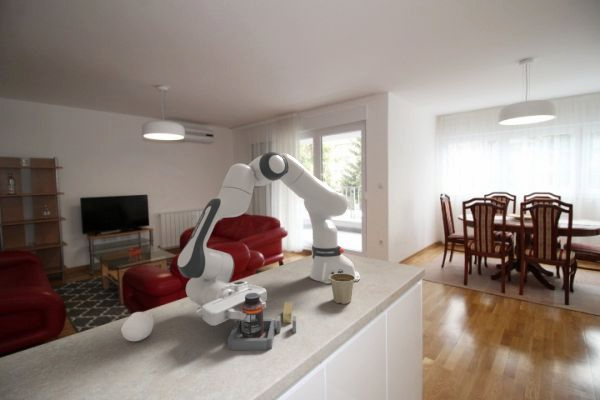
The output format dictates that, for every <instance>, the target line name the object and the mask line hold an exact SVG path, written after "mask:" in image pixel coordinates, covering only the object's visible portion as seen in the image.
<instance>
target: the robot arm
mask: <svg viewBox="0 0 600 400" xmlns="http://www.w3.org/2000/svg"><path fill="white" fill-rule="evenodd" d="M278 180H279V181H280V182H282V183H283V184H284V185H285V186H286V187H288V188H289V190H291V191H292V192H293V193H294V194H296V196H298V197H299V198H300V199H302V200H303V205H304V208H305V210H306V211H307V213H308V216H309V219H310V224H311V228H312V229H311V231H312V245H311V257H312V264H311V271H310V274H309V278H310V279H312V280H314V281H317V282H321V283H323V284H325V285H326V284H327V285H328V284H331V282H330V279H329V276H330V275H332V274H336V273H346V274H351V275H353V276H355V280H354V282H359V281H360V280H361V275H360V273H359V272H358V271H357V270H356V269H355V265H354V263H353V262H352V260H351V259H349V258H348V256H345V255H344V253H345V250H344V248H343V247H341V246H340V245H338V228H337V226H336V225H335V223H334V221H333V217H335V218H336V217H339V216H343V215H344V214H345V213H346V212H347V210H348V206H349V205H348V203H349V202H348V198H347V197H346V196H345V195H344V194H343V193H340V192H338V191H337V190H335V189H333V188H332V187H330V186H329V185H327V184H326V183H324V182H323V181H322V180H320V179H318V178H317V177H316V176H315V175H314V174H313V173H312V172H310V170H308V169H307V168H306V167H305V165H303V164H302V163H301V162H300V161H299V160H298V159H296V158H295V157H293V156H292V155H290V154H289V153H287V152H283V153H282V152H281V153H278V152H274V151H272V152H271V151H270V152H265V153H264V154H262V155H260V156H258V157H256V158H254V159H253V160H252V161H251V162H249V163H247V164H245V163H235V164H233V165H231V166H230V168H229V169H228V172H227V174H226V176H225V177H224V179H223V182H222V185H221V188H220V191H219V194H218V195H217V196H216V197H215V198H213V199H211V200H210V201H208V202H207V204H206V205H205V207H204V209H203V211H202V213H201V214H200V217H199V218H198V220H197V222H196V224H195V226H194V229H193V231H192V233H191V235H190V237H189V239H188V241H187V242H186V244H185V245H184V247H182V249H181V250H180V253H179V254H178V257H177V261H176V265H177V268H178V270H179V273H180V274H181V275H182V276H183V277H184V278H187V279H188V278H189V280H188V281H187V283H186V285H185V286H186V287H185V292H186V293H185V294H186V295H187V298H188V299H189V300H190V301H191V302H192V303H194V304H196V305H197V306H200V307H198V308H197V310H196V311H195V314H196V316H198V317H201V318H202V320H203V321H204V322H205V323H206V324H208V325H209V326H212V327H213V326H215V327H216V326H218V325H221V324H222V323H224V322H227V321H229V320H243V319H245V318H247V316H246V315H247V313H246V312H245V311H243V310H242V304H243V303H244V302H245V295H246V294H248V293H258V294H259V295H260V301H261V302H262V303H263V310H264V309H266V308H267V303H266V302H267V297H268V292H267V289H266V288H264V287H262V286H260V285H259V286H258V285H255V284H251V283H249V284H248V281H245V280H242V281H236V282H235V281H234V282H230V281H231V279H232V277H233V275H234V270H235V261H234V258H233V255H231V253H227V252H224V251H221V250H216V249H213V248H209V247H208V246H207V243H208V241H209V239H210V237H211V235H212V232H213V230H214V228H215V225H216V224H217V223H218V221H220V220H222V219H224V218H235V217H239V216H242V215H243V214H245V213H246V212H247V211H248V210H249V207H250V205H251V201H252V197H253V192H254V189H255V188H262V187H264V186H267V185H270V184H272V183H274V182H275V181H278ZM359 279H360V280H359ZM358 280H359V281H358Z"/></svg>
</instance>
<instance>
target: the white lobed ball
mask: <svg viewBox="0 0 600 400" xmlns="http://www.w3.org/2000/svg"><path fill="white" fill-rule="evenodd" d="M154 324H155V322H154V315H152V314H151V312H148V311H146V312H143V311H136V312H133V313H132V314H130V317H129V318H127V319H126V320H125V321H124V322H123V324H122V327H121V328H120V332H121V334H122V337H124V339H126V340H127V341H129V342H130V341H131V342H139V341H142V340H144V339H146V338H148V337H149V335H150V334H151V333H152V330H153V329H154Z"/></svg>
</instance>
